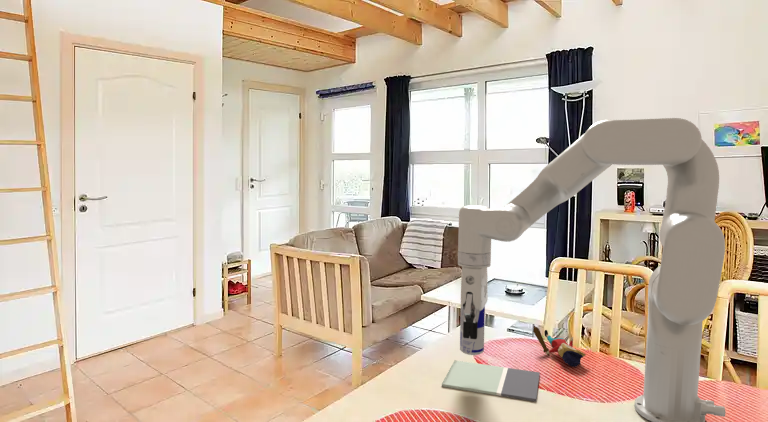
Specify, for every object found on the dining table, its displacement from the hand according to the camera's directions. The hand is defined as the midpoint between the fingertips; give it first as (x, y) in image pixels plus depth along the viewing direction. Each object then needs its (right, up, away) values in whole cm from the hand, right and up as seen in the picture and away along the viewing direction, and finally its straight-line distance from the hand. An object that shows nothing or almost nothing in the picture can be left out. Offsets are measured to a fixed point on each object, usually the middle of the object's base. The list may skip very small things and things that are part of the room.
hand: (472, 333), depth 116 cm
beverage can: (0, -5, 0) cm, 5 cm away
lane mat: (+5, -11, +1) cm, 12 cm away
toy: (+26, -10, +14) cm, 31 cm away
